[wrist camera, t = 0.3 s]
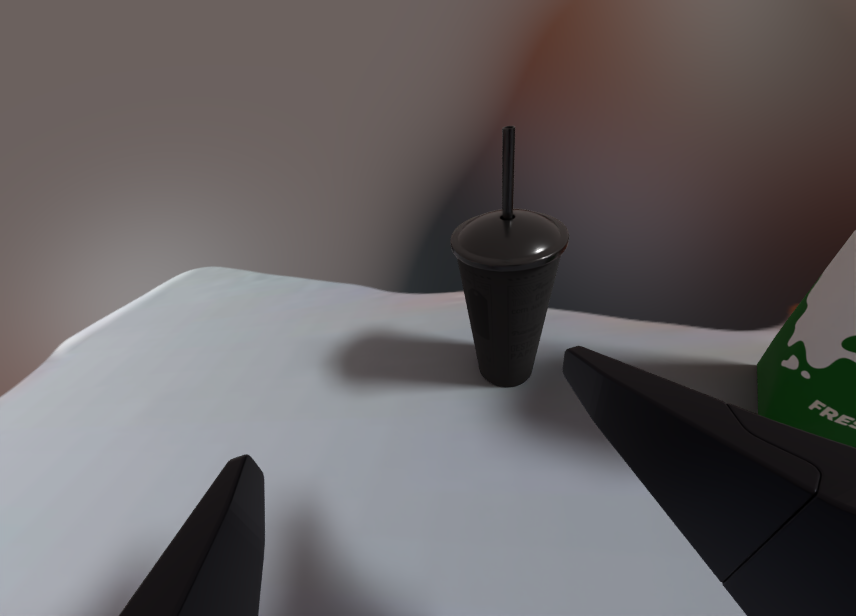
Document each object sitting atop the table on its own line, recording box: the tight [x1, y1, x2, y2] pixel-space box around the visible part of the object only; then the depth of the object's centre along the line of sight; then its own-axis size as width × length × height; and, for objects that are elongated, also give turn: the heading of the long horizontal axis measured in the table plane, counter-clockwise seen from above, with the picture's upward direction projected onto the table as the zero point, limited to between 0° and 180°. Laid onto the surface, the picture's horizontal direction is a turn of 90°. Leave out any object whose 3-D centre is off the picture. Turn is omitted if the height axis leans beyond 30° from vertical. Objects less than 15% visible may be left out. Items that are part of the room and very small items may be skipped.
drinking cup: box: [451, 126, 569, 387], centre depth 24 cm, size 8×8×20 cm
